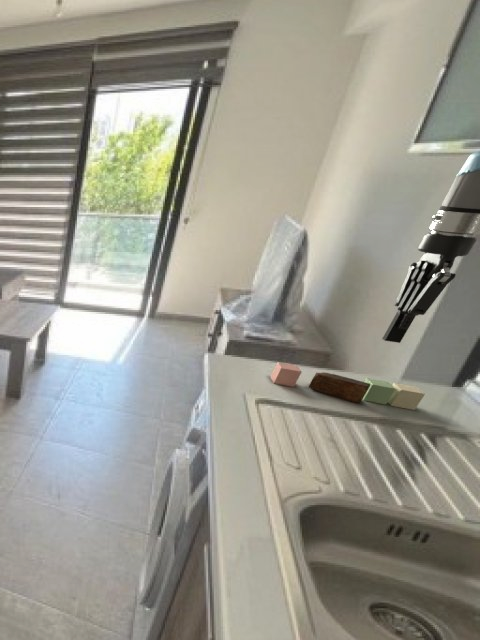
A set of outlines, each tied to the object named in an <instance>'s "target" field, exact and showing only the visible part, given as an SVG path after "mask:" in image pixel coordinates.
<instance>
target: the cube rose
mask: <svg viewBox="0 0 480 640" xmlns="http://www.w3.org/2000/svg"><path fill="white" fill-rule="evenodd" d="M272 370H273V371H272V373H271V375H270V379H271V380H272V383H273V384H277V385H282V386H287V387H292V388H294V387H295V386H296V385H297V383H298V380H299V378H300V376H301V375H302V372H303V371H302V370H301V369H300V367H299V366H298V365H295V364H290V363H285V362H277V363H276V364H275V366H274V369H272Z"/></svg>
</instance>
